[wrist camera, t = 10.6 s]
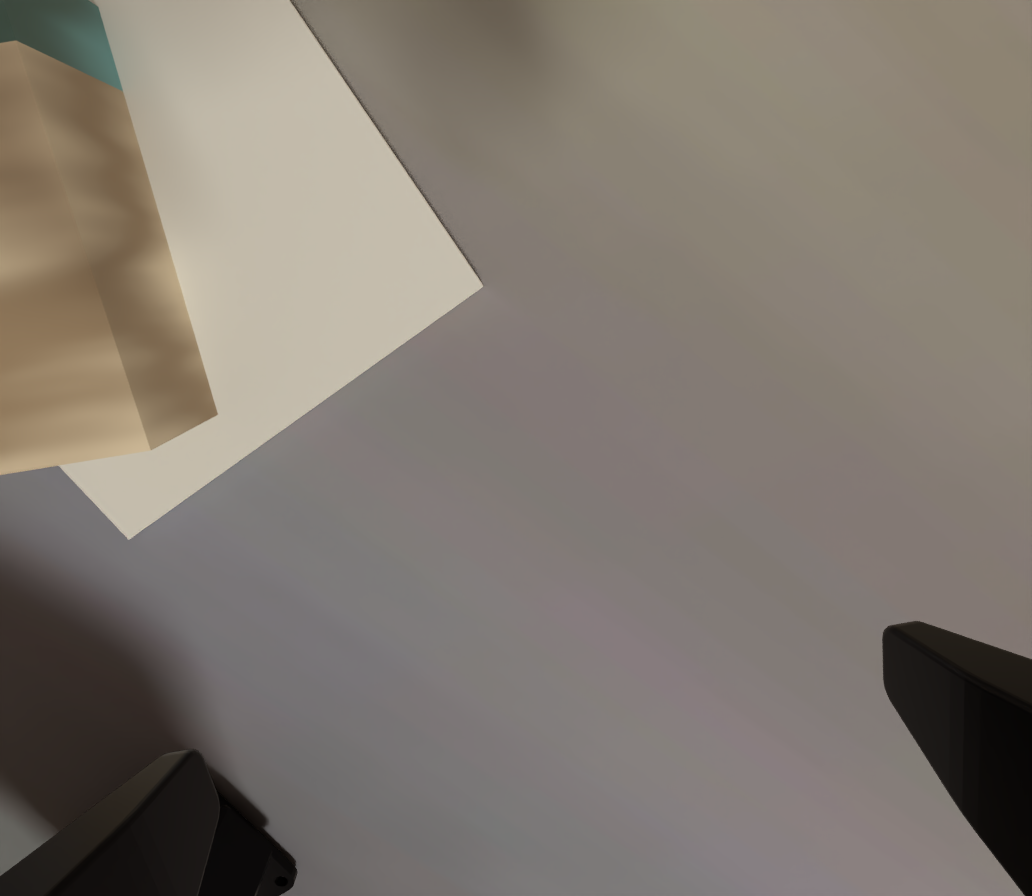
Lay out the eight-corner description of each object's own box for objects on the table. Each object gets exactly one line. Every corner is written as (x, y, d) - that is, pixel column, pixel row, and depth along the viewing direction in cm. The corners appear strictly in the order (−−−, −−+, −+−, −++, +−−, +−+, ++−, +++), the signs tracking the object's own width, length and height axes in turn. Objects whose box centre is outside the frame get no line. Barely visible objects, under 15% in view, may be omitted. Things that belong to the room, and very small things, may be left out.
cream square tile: (138, 532, 21) (128, 539, 21) (-249, 119, 18) (-275, 113, 17) (484, 285, 19) (483, 286, 19) (133, -231, 16) (119, -250, 15)
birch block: (150, 450, 16) (-22, -73, 13) (-9, 476, 16) (-217, -39, 13) (217, 414, 20) (98, 6, 17) (90, 435, 20) (-53, 32, 17)
